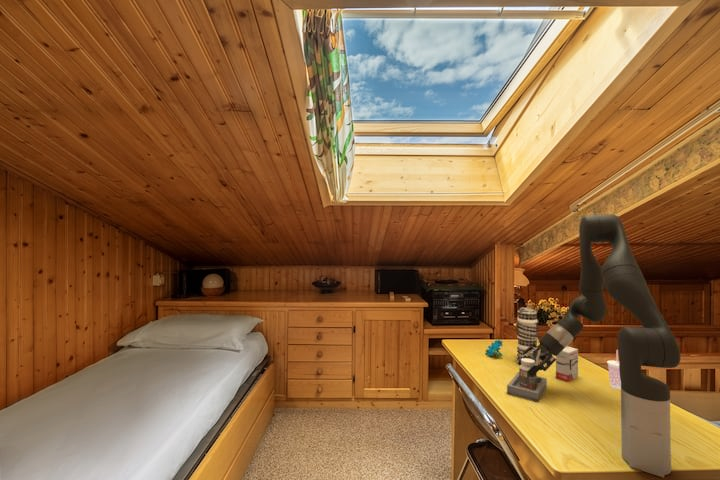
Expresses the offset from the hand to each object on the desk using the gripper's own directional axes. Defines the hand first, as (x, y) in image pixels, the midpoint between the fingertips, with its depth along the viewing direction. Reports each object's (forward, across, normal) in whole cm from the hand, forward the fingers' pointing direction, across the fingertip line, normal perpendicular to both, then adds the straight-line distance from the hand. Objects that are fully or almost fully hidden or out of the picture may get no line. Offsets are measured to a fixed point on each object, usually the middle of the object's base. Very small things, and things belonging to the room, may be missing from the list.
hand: (524, 370), depth 121 cm
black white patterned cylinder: (-4, -27, +14) cm, 31 cm away
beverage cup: (-20, -5, +31) cm, 37 cm away
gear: (+4, -37, +6) cm, 38 cm away
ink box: (-10, -12, +21) cm, 26 cm away
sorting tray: (+4, 0, +6) cm, 7 cm away
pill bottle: (+4, 0, +6) cm, 7 cm away
